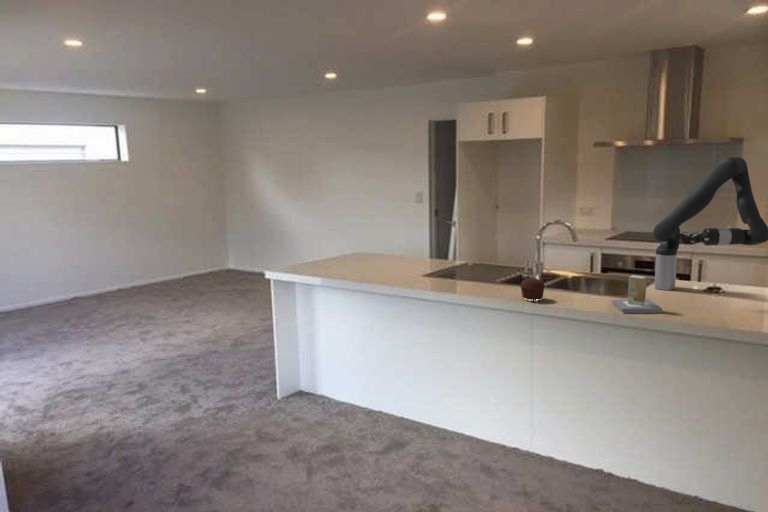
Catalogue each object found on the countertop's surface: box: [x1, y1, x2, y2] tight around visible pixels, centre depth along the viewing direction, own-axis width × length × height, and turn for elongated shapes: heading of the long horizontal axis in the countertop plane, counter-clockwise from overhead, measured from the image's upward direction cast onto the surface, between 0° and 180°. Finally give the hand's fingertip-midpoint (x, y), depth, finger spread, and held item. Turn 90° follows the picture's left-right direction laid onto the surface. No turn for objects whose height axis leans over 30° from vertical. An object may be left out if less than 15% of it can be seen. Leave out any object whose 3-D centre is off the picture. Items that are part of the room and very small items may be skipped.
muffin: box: [519, 277, 546, 300], centre depth 276 cm, size 12×11×10 cm
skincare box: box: [627, 274, 648, 306], centre depth 253 cm, size 6×4×12 cm
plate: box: [611, 298, 663, 314], centre depth 254 cm, size 16×16×2 cm
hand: (677, 237), depth 253 cm, fingers open, 8 cm apart
